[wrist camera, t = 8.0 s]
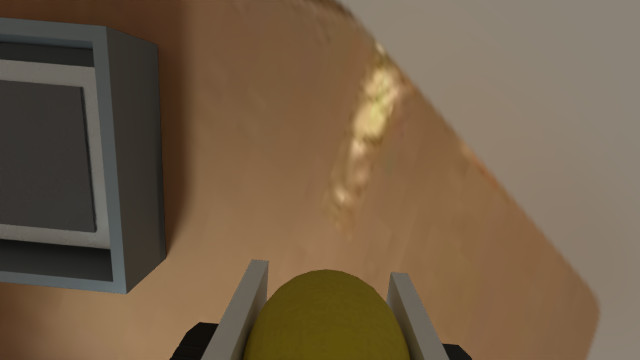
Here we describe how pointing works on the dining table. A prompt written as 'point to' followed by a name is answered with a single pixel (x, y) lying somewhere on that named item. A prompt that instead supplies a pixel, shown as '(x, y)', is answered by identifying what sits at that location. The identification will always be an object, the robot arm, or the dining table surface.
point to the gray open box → (117, 152)
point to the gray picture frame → (51, 156)
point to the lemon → (326, 322)
